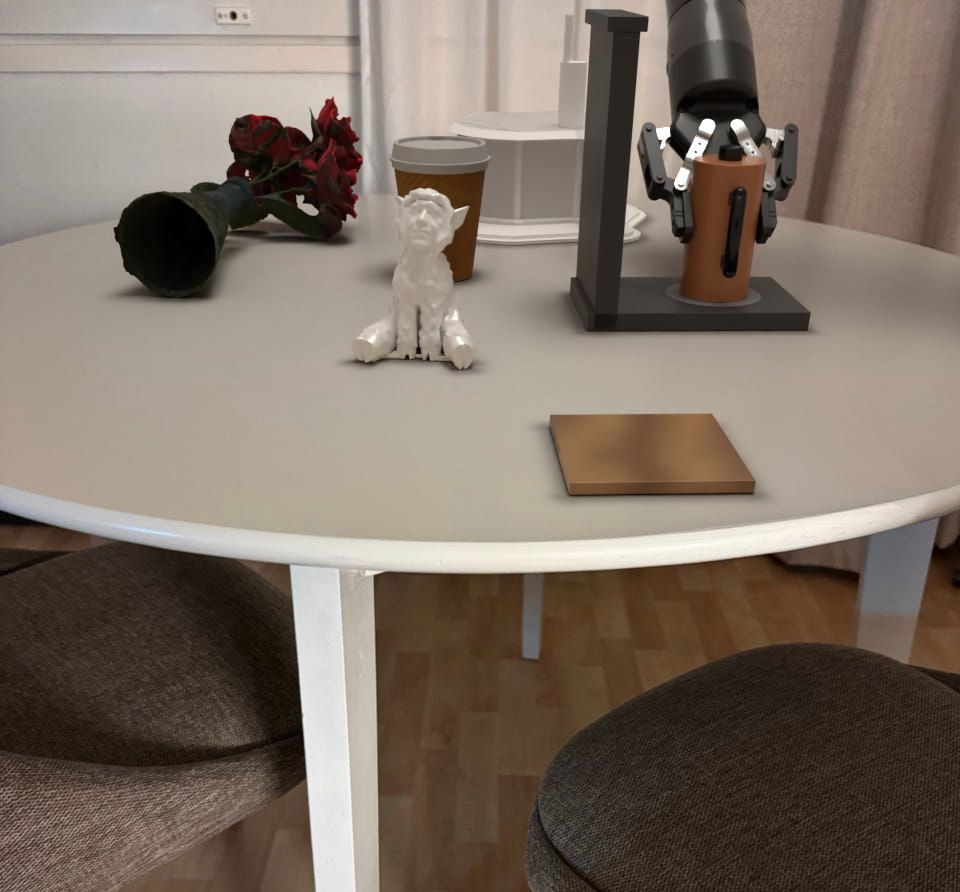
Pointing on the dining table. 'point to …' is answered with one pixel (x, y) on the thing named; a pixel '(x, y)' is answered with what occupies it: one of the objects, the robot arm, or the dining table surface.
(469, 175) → the disposable coffee cup
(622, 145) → the coffee maker
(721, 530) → the dining table surface
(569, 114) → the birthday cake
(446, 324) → the white creature statuette
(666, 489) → the trivet
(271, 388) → the dining table surface
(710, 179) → the thermos flask
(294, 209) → the red rose bouquet
